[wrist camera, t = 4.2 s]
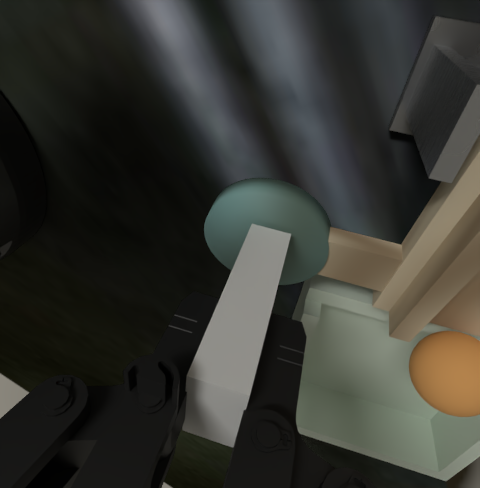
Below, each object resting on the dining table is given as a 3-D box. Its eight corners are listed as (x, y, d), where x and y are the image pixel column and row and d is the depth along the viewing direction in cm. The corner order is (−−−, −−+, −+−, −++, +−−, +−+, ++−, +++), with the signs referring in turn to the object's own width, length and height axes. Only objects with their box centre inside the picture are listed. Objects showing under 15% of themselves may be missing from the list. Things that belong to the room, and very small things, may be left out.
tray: (273, 370, 27) (263, 421, 24) (315, 250, 20) (307, 301, 17) (435, 420, 26) (446, 481, 23) (545, 311, 18) (583, 379, 15)
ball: (441, 339, 13) (412, 310, 16) (412, 419, 13) (390, 376, 16) (537, 366, 12) (488, 331, 15) (503, 447, 13) (462, 398, 16)
